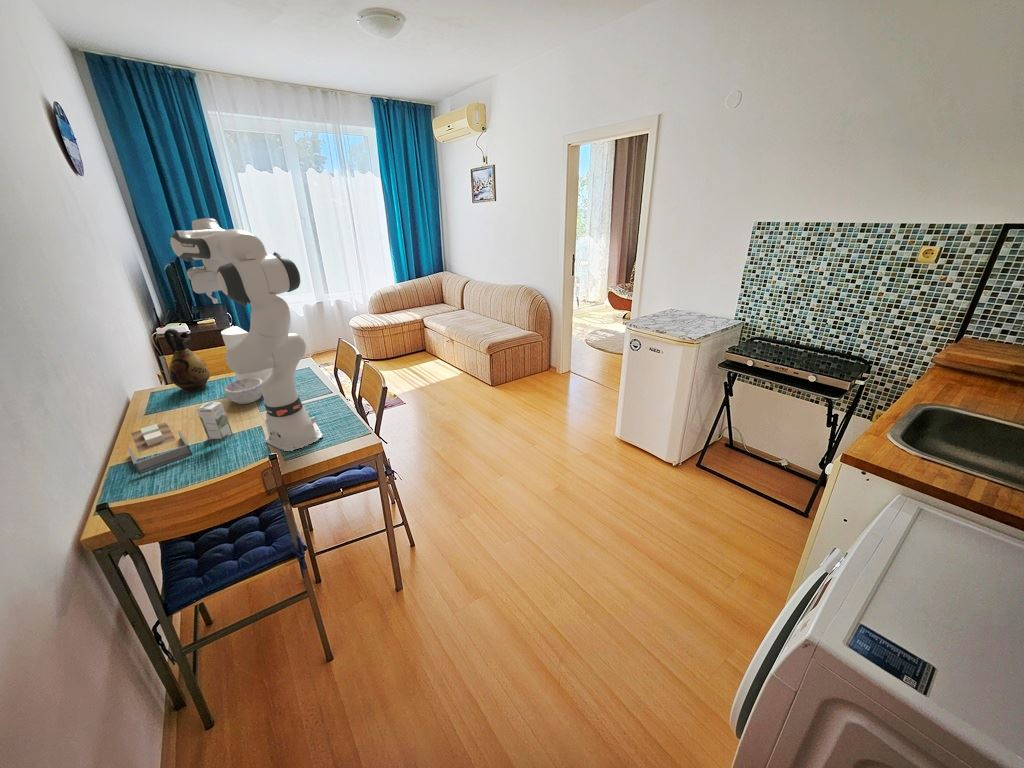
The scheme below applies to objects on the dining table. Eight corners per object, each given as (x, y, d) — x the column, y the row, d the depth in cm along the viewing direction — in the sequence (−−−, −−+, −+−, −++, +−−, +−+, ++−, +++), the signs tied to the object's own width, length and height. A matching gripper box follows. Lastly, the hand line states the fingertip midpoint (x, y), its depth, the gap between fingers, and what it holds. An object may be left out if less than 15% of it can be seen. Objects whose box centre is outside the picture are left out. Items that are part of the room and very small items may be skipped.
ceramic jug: (221, 382, 206) (201, 325, 193) (193, 396, 192) (169, 336, 179) (194, 380, 209) (172, 324, 197) (165, 393, 196) (139, 334, 183)
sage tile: (161, 433, 158) (158, 428, 157) (144, 438, 155) (142, 433, 154) (158, 429, 162) (156, 423, 161) (142, 434, 158) (140, 428, 157)
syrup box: (219, 434, 160) (206, 401, 154) (233, 433, 160) (221, 401, 154) (208, 442, 155) (195, 408, 149) (223, 441, 155) (210, 408, 148)
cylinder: (246, 392, 194) (227, 337, 182) (234, 383, 205) (216, 330, 193) (283, 381, 205) (268, 328, 194) (271, 372, 216) (255, 321, 204)
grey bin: (192, 455, 147) (188, 444, 145) (139, 474, 137) (133, 464, 135) (184, 440, 156) (179, 430, 154) (133, 458, 146) (127, 448, 144)
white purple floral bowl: (255, 407, 180) (249, 391, 177) (221, 407, 181) (215, 391, 177) (274, 392, 194) (269, 377, 191) (243, 392, 194) (237, 377, 191)
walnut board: (177, 442, 155) (175, 439, 154) (140, 455, 148) (138, 452, 147) (167, 425, 167) (165, 422, 167) (132, 436, 160) (131, 433, 160)
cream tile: (164, 440, 154) (162, 434, 153) (148, 446, 150) (145, 440, 149) (162, 435, 157) (159, 430, 156) (146, 441, 154) (143, 435, 153)
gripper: (186, 269, 144) (200, 307, 150) (250, 261, 157) (260, 297, 163) (182, 267, 148) (196, 304, 154) (245, 260, 161) (255, 295, 167)
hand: (229, 300), depth 159 cm, fingers open, 8 cm apart
